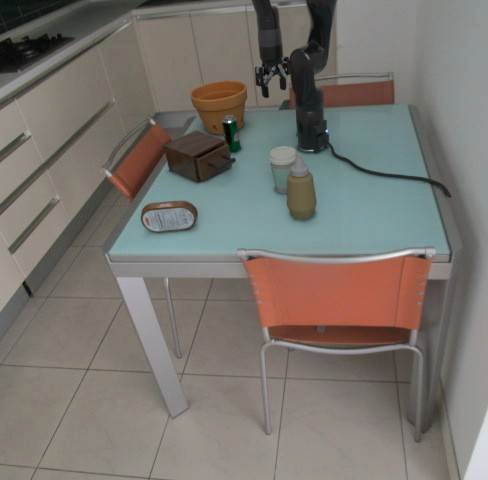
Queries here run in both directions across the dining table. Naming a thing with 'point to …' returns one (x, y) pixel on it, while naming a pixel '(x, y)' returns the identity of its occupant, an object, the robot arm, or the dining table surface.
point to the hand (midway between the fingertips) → (274, 93)
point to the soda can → (231, 132)
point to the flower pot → (219, 103)
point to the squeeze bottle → (300, 190)
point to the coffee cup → (281, 165)
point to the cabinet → (189, 152)
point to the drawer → (213, 161)
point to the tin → (169, 216)
